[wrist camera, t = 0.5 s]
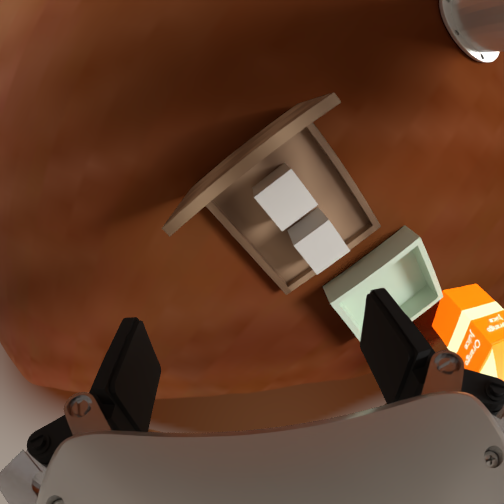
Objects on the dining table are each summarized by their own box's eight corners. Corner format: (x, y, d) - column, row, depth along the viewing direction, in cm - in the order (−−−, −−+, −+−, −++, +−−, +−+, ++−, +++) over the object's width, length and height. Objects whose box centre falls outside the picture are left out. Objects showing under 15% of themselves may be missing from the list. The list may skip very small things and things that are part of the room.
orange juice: (442, 289, 40) (512, 371, 22) (476, 282, 40) (543, 351, 22) (431, 326, 43) (486, 409, 25) (464, 318, 43) (520, 388, 25)
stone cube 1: (284, 162, 31) (291, 168, 26) (308, 193, 32) (318, 204, 28) (252, 187, 32) (253, 197, 28) (276, 217, 33) (282, 231, 29)
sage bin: (405, 225, 35) (420, 236, 31) (430, 283, 39) (443, 296, 35) (322, 286, 38) (330, 303, 34) (359, 334, 42) (368, 351, 39)
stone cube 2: (318, 207, 33) (328, 219, 29) (338, 235, 34) (350, 250, 30) (287, 230, 34) (293, 245, 30) (308, 256, 35) (316, 274, 31)
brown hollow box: (295, 104, 28) (334, 92, 16) (375, 222, 34) (434, 275, 22) (192, 185, 32) (161, 228, 19) (284, 288, 38) (303, 365, 25)
